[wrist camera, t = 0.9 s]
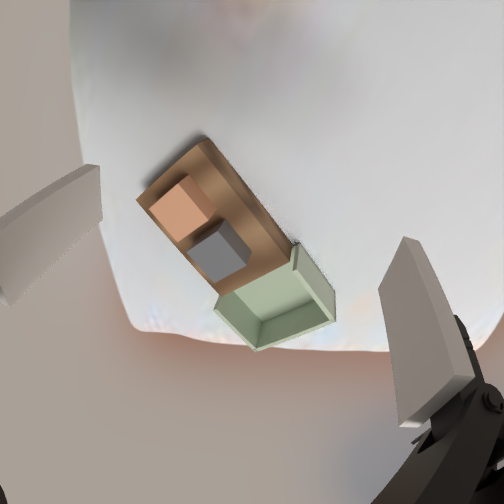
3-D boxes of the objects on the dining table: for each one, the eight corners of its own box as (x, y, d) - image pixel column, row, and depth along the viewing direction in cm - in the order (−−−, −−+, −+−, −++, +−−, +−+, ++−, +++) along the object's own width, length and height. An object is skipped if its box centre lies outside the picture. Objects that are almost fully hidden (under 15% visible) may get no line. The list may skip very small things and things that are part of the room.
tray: (224, 283, 44) (212, 310, 39) (299, 242, 39) (296, 269, 34) (262, 323, 47) (255, 352, 42) (335, 291, 42) (336, 321, 36)
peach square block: (160, 198, 34) (148, 208, 32) (188, 174, 32) (177, 183, 30) (187, 230, 36) (177, 242, 34) (216, 208, 34) (208, 220, 31)
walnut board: (150, 188, 39) (135, 199, 35) (208, 137, 34) (196, 144, 30) (228, 279, 44) (221, 296, 41) (292, 244, 39) (289, 261, 36)
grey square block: (195, 239, 37) (186, 252, 34) (225, 218, 34) (217, 231, 32) (221, 269, 38) (214, 283, 36) (252, 251, 36) (246, 265, 33)
